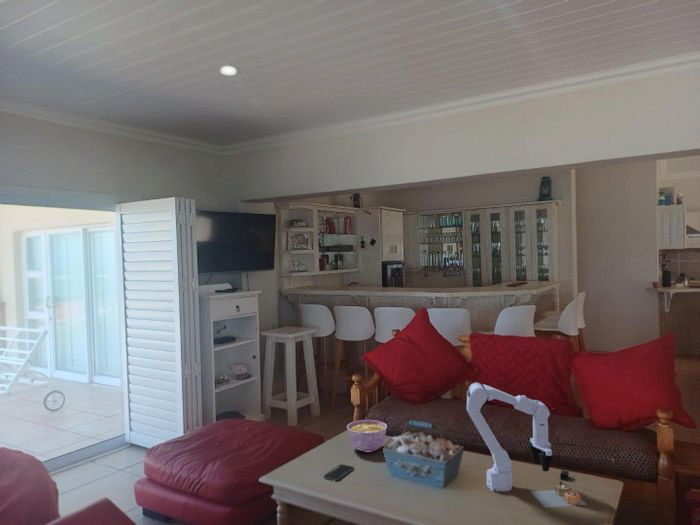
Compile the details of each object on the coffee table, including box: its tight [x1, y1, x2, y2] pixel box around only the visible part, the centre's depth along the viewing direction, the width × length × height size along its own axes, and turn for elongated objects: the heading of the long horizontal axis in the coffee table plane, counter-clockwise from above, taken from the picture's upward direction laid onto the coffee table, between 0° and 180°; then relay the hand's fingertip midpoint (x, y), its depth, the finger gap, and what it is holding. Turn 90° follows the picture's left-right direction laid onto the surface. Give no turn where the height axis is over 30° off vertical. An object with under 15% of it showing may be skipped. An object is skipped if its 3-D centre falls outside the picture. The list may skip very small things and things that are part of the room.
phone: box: [323, 464, 355, 482], centre depth 229 cm, size 8×1×15 cm
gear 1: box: [555, 480, 572, 496], centre depth 201 cm, size 6×6×4 cm
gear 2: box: [564, 490, 581, 504], centre depth 195 cm, size 6×6×3 cm
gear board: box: [530, 485, 587, 509], centre depth 198 cm, size 16×13×4 cm
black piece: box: [559, 469, 570, 482], centre depth 215 cm, size 12×7×5 cm, turn 151°
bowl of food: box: [346, 419, 388, 452], centre depth 257 cm, size 20×20×12 cm
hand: (541, 466), depth 207 cm, fingers open, 7 cm apart
